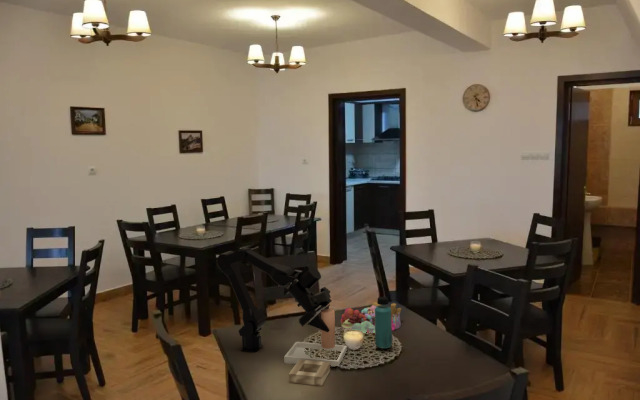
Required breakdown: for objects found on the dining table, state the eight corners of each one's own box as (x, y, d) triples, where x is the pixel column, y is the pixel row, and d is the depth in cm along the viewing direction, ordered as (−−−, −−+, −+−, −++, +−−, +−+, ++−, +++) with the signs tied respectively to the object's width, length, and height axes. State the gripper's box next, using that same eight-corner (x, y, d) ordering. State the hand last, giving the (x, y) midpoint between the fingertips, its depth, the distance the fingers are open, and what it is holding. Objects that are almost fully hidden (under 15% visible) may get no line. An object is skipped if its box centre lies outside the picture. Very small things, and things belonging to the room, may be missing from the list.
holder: (289, 382, 168) (288, 373, 167) (299, 367, 178) (299, 359, 178) (321, 385, 165) (321, 377, 164) (330, 370, 175) (329, 362, 175)
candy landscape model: (363, 312, 235) (363, 293, 234) (410, 321, 222) (409, 301, 221) (333, 329, 215) (333, 308, 214) (382, 340, 202) (382, 318, 201)
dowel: (322, 349, 181) (321, 313, 179) (320, 343, 185) (319, 309, 184) (336, 347, 181) (335, 312, 180) (333, 342, 186) (333, 308, 185)
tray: (284, 363, 182) (284, 356, 182) (296, 347, 196) (296, 341, 195) (338, 368, 177) (338, 361, 177) (346, 352, 190) (346, 345, 190)
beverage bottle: (391, 352, 189) (391, 300, 187) (374, 351, 190) (373, 300, 188) (392, 345, 195) (392, 295, 193) (375, 344, 197) (374, 294, 194)
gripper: (306, 289, 174) (336, 324, 171) (326, 275, 191) (354, 307, 188) (286, 309, 178) (316, 343, 175) (307, 294, 195) (334, 325, 192)
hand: (331, 328), depth 182 cm, fingers closed on dowel, 5 cm apart
